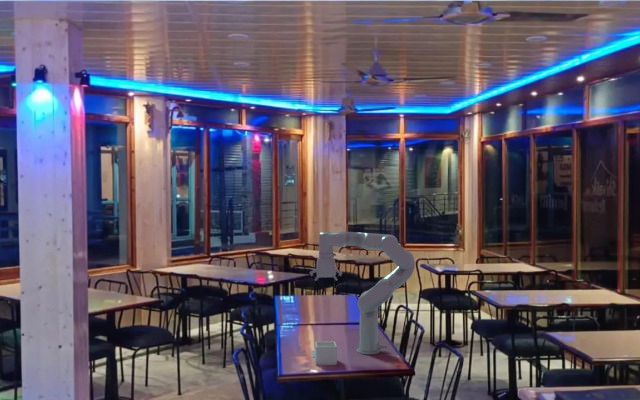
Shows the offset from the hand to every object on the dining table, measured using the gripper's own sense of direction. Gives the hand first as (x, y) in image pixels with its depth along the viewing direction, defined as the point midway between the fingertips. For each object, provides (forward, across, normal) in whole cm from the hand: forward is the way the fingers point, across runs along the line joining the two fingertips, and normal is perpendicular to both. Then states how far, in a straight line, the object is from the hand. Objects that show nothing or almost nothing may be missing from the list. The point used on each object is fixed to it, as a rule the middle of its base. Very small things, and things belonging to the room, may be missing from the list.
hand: (325, 287), depth 322 cm
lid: (+33, +2, +11) cm, 35 cm away
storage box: (+32, +2, +25) cm, 41 cm away
